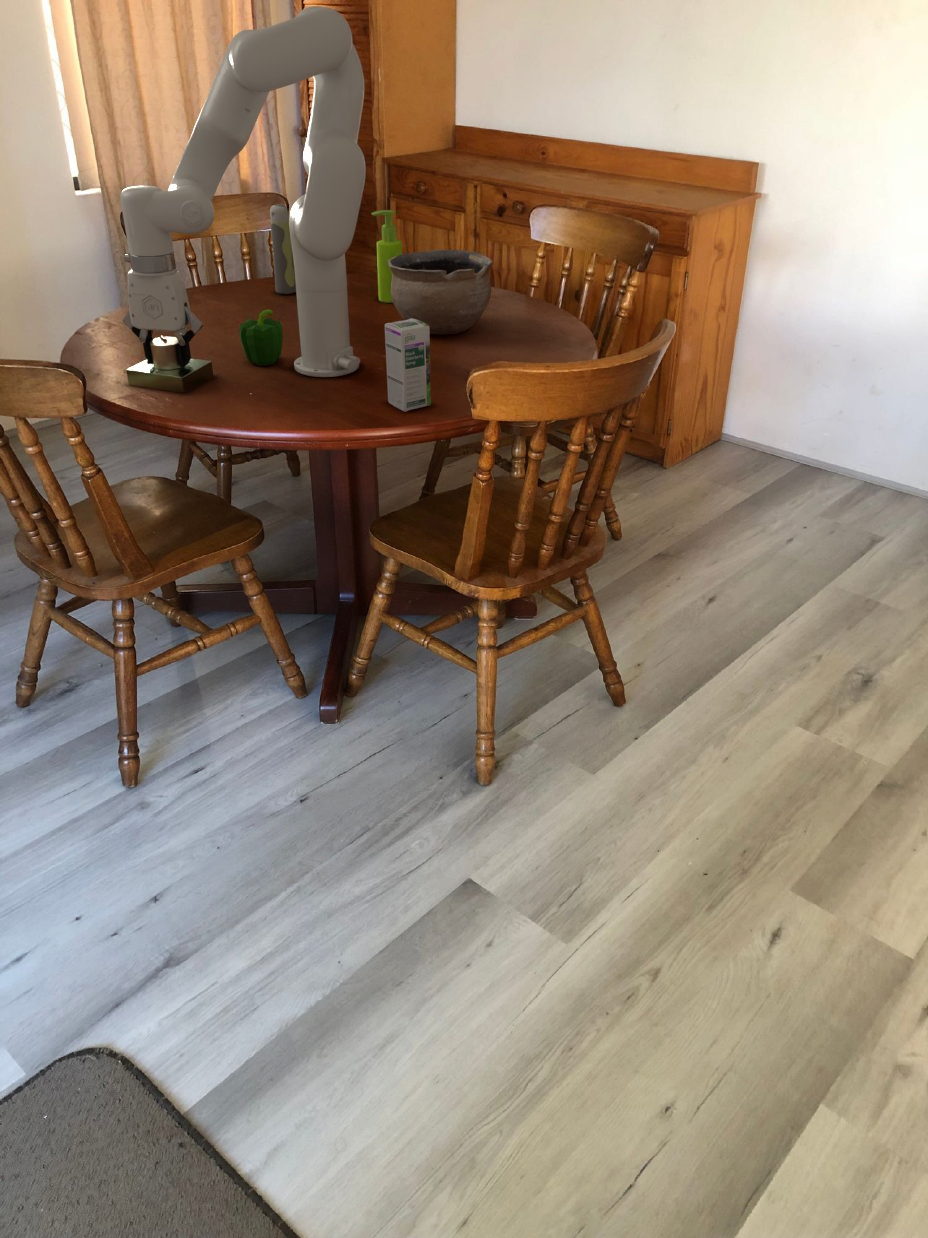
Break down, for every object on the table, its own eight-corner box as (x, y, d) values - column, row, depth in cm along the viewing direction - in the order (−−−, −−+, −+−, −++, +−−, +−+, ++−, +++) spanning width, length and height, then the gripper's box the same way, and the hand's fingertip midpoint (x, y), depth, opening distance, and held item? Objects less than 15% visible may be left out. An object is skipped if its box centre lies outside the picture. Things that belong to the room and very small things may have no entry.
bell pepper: (245, 370, 188) (239, 318, 183) (240, 357, 195) (235, 306, 189) (288, 367, 190) (283, 315, 185) (282, 354, 197) (278, 304, 191)
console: (213, 376, 185) (211, 360, 183) (184, 393, 177) (181, 376, 175) (160, 368, 188) (157, 352, 187) (128, 385, 180) (125, 368, 179)
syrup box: (404, 412, 170) (402, 329, 162) (386, 402, 174) (384, 321, 166) (431, 406, 173) (430, 324, 165) (413, 396, 177) (411, 316, 169)
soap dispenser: (371, 297, 233) (367, 209, 222) (397, 295, 236) (395, 207, 225) (379, 304, 229) (376, 213, 218) (406, 301, 231) (405, 211, 220)
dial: (188, 367, 180) (184, 341, 178) (158, 371, 178) (153, 345, 175) (180, 358, 184) (176, 333, 182) (150, 362, 182) (146, 337, 179)
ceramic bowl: (430, 351, 199) (430, 276, 191) (370, 326, 213) (367, 255, 205) (511, 332, 211) (513, 260, 203) (448, 310, 225) (449, 242, 217)
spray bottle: (271, 292, 236) (263, 204, 226) (286, 288, 240) (278, 201, 229) (285, 295, 234) (278, 207, 223) (300, 291, 237) (293, 204, 226)
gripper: (97, 264, 169) (116, 366, 179) (189, 270, 167) (203, 373, 176) (118, 255, 175) (136, 353, 185) (207, 260, 173) (220, 360, 183)
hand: (168, 362), depth 181 cm, fingers closed on dial, 5 cm apart
